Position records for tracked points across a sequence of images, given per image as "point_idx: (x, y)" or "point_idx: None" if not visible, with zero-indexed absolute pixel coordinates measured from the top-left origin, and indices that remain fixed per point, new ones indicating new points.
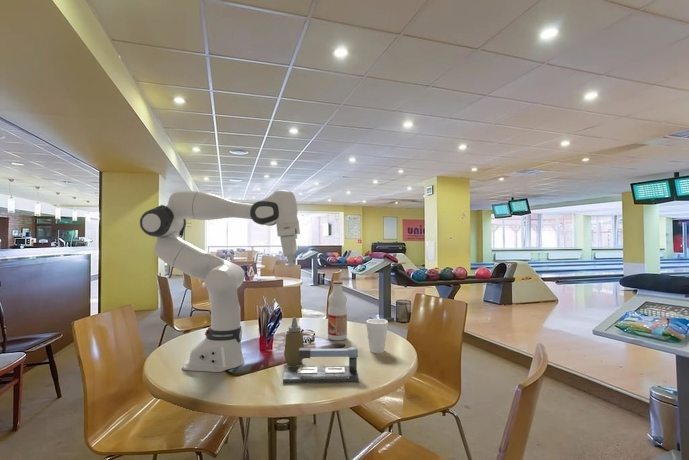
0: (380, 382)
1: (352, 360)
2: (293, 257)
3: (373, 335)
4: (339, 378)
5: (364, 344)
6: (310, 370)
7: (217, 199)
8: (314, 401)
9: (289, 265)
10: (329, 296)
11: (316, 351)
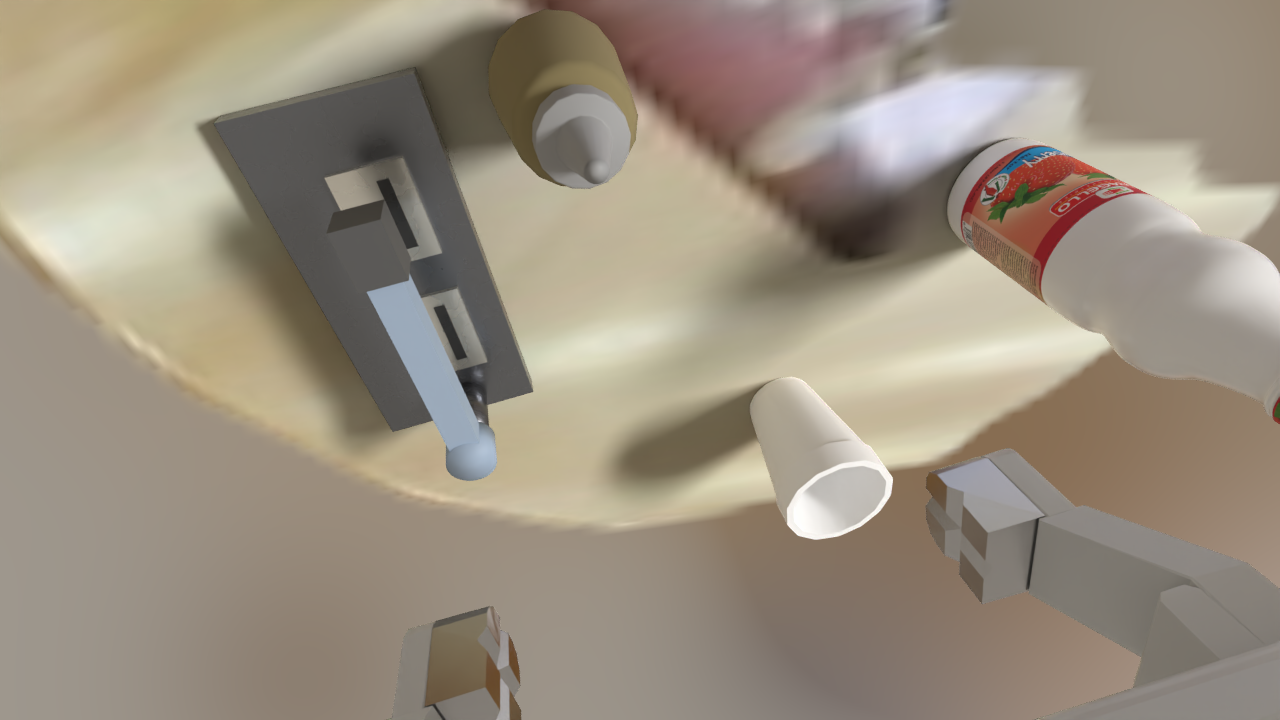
0: (427, 478)
1: None
2: (1105, 610)
3: (774, 453)
4: (358, 371)
5: (871, 339)
6: None
7: None
8: (117, 325)
9: (408, 663)
10: (1222, 272)
11: (381, 318)
